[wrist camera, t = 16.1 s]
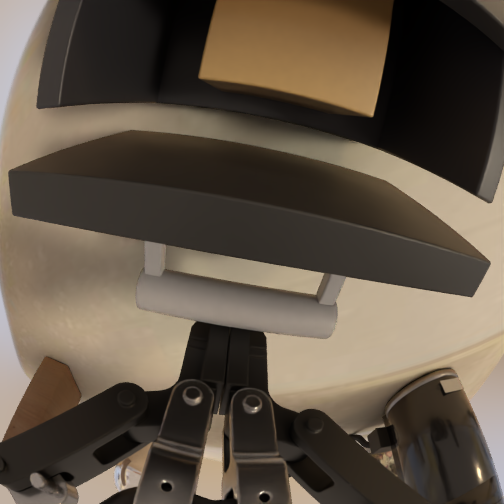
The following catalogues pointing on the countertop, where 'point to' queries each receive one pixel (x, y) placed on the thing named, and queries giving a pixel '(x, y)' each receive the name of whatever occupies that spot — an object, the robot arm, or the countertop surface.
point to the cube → (300, 51)
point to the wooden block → (44, 397)
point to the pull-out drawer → (267, 163)
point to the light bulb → (130, 470)
